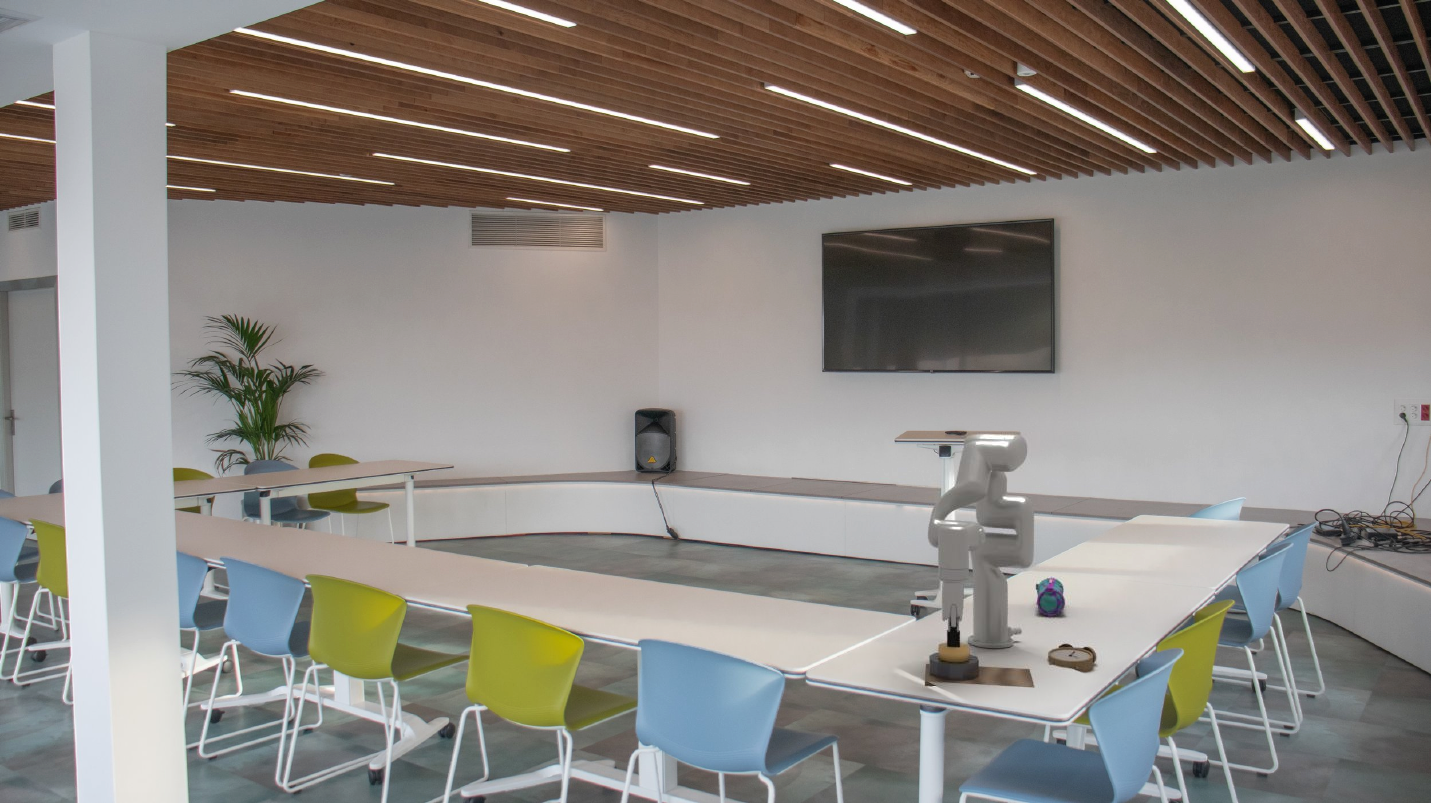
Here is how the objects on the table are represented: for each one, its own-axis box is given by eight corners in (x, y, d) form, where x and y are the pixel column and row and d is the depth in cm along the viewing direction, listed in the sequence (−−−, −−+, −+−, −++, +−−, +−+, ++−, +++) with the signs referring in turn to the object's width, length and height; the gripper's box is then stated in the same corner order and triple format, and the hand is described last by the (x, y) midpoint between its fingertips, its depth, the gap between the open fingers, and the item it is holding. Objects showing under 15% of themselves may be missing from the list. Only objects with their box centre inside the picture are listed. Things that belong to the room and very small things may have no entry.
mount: (1029, 673, 267) (1029, 668, 267) (1034, 692, 251) (1034, 687, 251) (926, 668, 273) (926, 663, 273) (924, 685, 257) (924, 681, 257)
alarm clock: (1041, 657, 272) (1060, 635, 284) (1042, 675, 273) (1061, 652, 284) (1084, 664, 265) (1102, 642, 277) (1085, 682, 266) (1103, 659, 278)
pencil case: (1035, 603, 350) (1035, 574, 350) (1063, 604, 347) (1063, 575, 347) (1036, 616, 330) (1036, 586, 330) (1065, 618, 327) (1065, 588, 327)
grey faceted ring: (959, 664, 271) (959, 649, 271) (988, 677, 260) (988, 661, 260) (920, 670, 267) (920, 654, 266) (947, 682, 255) (947, 666, 255)
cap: (957, 668, 268) (957, 641, 268) (975, 675, 261) (975, 648, 261) (932, 671, 265) (932, 644, 265) (950, 679, 258) (949, 651, 258)
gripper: (938, 568, 271) (938, 638, 271) (938, 579, 256) (938, 653, 256) (968, 569, 269) (968, 640, 269) (969, 580, 255) (969, 655, 255)
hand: (953, 646), depth 263 cm, fingers closed
